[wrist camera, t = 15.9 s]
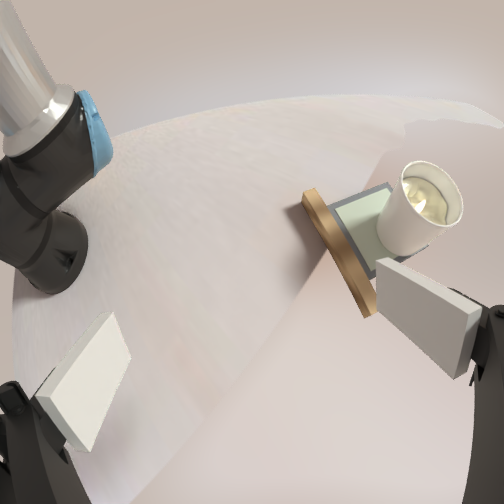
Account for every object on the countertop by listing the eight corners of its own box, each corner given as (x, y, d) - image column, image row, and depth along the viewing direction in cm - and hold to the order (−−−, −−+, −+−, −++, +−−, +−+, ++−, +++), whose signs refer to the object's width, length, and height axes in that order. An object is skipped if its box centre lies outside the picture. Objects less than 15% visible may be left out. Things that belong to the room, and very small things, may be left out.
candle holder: (426, 218, 40) (462, 178, 29) (420, 270, 37) (463, 239, 26) (376, 196, 42) (403, 149, 31) (365, 248, 39) (396, 208, 28)
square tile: (325, 208, 43) (326, 205, 42) (386, 184, 44) (387, 181, 43) (367, 281, 38) (368, 280, 37) (426, 247, 39) (428, 245, 39)
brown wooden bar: (301, 202, 43) (303, 192, 40) (312, 198, 43) (314, 187, 41) (364, 318, 36) (371, 315, 33) (375, 311, 36) (383, 308, 34)
